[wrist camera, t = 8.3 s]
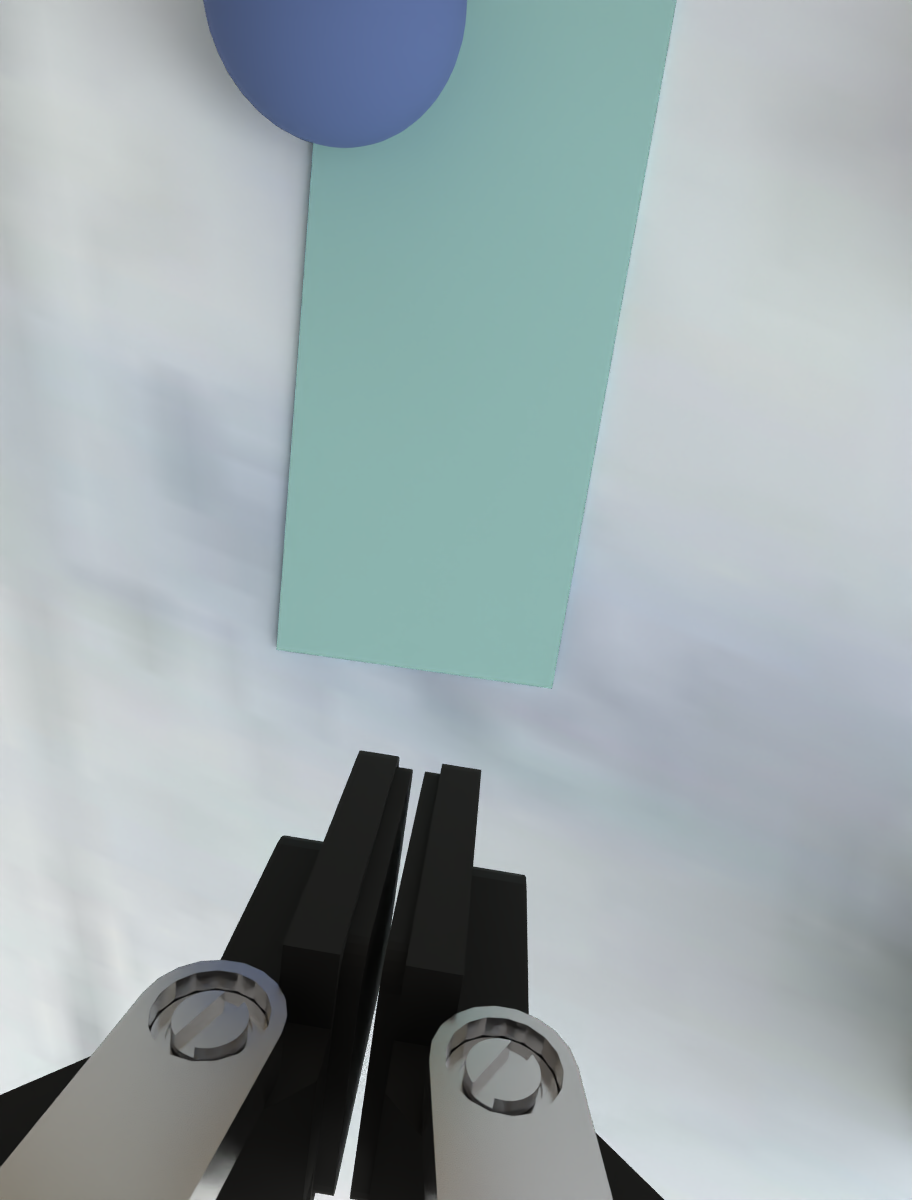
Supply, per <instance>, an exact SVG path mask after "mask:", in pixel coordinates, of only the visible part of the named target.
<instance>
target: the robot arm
mask: <svg viewBox="0 0 912 1200" xmlns="http://www.w3.org/2000/svg"><path fill="white" fill-rule="evenodd" d="M412 773H413V770H412V769H406V768H400V767H399V757H398V756H392V755H385V754H379V753H373V752H367V751H359V753H358V756H357V758H356V761H355V763H354V766H353V768H352V771H351V773H350V776H349V779H348V781H347V784H346V786H345V789H344V791H343V794H342V796H341V799H340V801H339V804H338V806H337V809H336V811H335V814H334V817H333V819H332V822H331V824H330V827H329V829H328V832H327V834H326V837H325V839H324V842H321V841H315V840H309V839H303V838H297V837H291V836H285V835H284V836H282V837H281V838H280V840H279V841H278V843H277V845H276V847H275V849H274V851H273V853H272V855H271V857H270V859H269V861H268V863H267V865H266V868H265V870H264V872H263V874H262V876H261V878H260V880H259V882H258V884H257V886H256V888H255V890H254V892H253V894H252V896H251V898H250V900H249V902H248V904H247V907H246V909H245V911H244V913H243V915H242V917H241V919H240V921H239V923H238V925H237V927H236V929H235V931H234V933H233V935H232V937H231V939H230V941H229V943H228V945H227V948H226V950H225V952H224V954H223V956H222V958H221V960H214V961H200V962H196V963H193V964H189V965H185V966H182V967H178V968H176V969H175V970H173V971H171V972H169V973H167V974H165V975H163V976H161V977H160V978H158V979H157V980H156V981H155V982H154V983H153V984H152V985H150V986H149V987H148V988H147V989H146V990H145V991H144V992H143V993H142V994H141V995H140V997H139V998H138V999H137V1000H136V1002H135V1003H134V1004H133V1005H132V1006H131V1008H130V1009H129V1010H128V1011H127V1013H126V1014H125V1015H124V1016H123V1017H122V1019H121V1020H120V1021H119V1022H118V1024H117V1025H116V1026H115V1027H114V1028H113V1030H112V1031H111V1032H110V1033H109V1035H108V1036H107V1037H106V1038H105V1040H104V1041H103V1042H102V1043H101V1044H100V1046H99V1047H98V1048H97V1049H96V1051H95V1052H94V1053H93V1054H92V1055H91V1056H90V1057H88V1058H85V1059H83V1060H81V1061H78V1062H76V1063H74V1064H71V1065H69V1066H67V1067H64V1068H62V1069H60V1070H57V1071H55V1072H53V1073H50V1074H48V1075H46V1076H43V1077H41V1078H39V1079H37V1080H34V1081H32V1082H30V1083H27V1084H25V1085H23V1086H20V1087H18V1088H16V1089H13V1090H11V1091H9V1092H6V1093H4V1094H2V1095H0V1200H314V1196H315V1193H320V1194H326V1195H332V1196H334V1193H335V1189H336V1185H337V1181H338V1176H339V1171H340V1167H341V1162H342V1158H343V1153H344V1148H345V1144H346V1139H347V1135H348V1130H349V1125H350V1121H351V1116H352V1111H353V1107H354V1102H355V1098H356V1093H357V1088H358V1084H359V1079H360V1075H361V1070H362V1065H363V1061H364V1056H365V1051H366V1047H367V1042H368V1038H369V1033H370V1028H371V1024H372V1019H373V1015H374V1010H375V1005H376V1001H377V996H378V1002H377V1009H376V1016H375V1023H374V1030H373V1038H372V1045H371V1052H370V1059H369V1066H368V1073H367V1080H366V1087H365V1094H364V1101H363V1108H362V1115H361V1122H360V1129H359V1137H358V1144H357V1151H356V1158H355V1165H354V1172H353V1179H352V1186H351V1193H350V1199H355V1200H664V1199H663V1198H662V1197H661V1196H660V1195H659V1194H658V1193H657V1192H656V1191H655V1190H654V1189H653V1188H652V1187H651V1186H650V1185H649V1184H648V1183H647V1182H646V1181H645V1180H644V1179H643V1178H641V1177H640V1176H639V1175H638V1174H637V1173H636V1172H635V1171H634V1170H633V1169H632V1168H631V1167H630V1166H629V1165H628V1164H627V1163H626V1162H625V1161H624V1160H623V1159H622V1158H621V1157H620V1156H619V1155H618V1154H617V1153H616V1152H615V1151H614V1150H613V1149H612V1148H611V1147H610V1146H609V1145H608V1144H607V1143H606V1142H605V1141H604V1140H603V1139H601V1138H600V1137H599V1136H598V1135H597V1134H596V1133H595V1129H594V1125H593V1122H592V1118H591V1114H590V1110H589V1106H588V1102H587V1099H586V1095H585V1091H584V1087H583V1083H582V1079H581V1076H580V1072H579V1068H578V1065H577V1063H576V1061H575V1058H574V1056H573V1054H572V1052H571V1049H570V1048H569V1046H568V1045H567V1044H566V1043H565V1042H564V1041H563V1039H562V1038H561V1037H560V1036H559V1035H558V1033H557V1032H556V1031H555V1030H553V1029H552V1028H550V1027H549V1026H548V1025H546V1024H545V1023H543V1022H542V1021H541V1020H539V1019H538V1018H536V1017H533V1016H531V1015H529V1008H528V949H527V891H526V877H525V875H521V874H515V873H509V872H503V871H496V870H490V869H484V868H478V867H473V860H474V848H475V837H476V825H477V813H478V802H479V790H480V779H481V770H478V769H472V768H466V767H459V766H453V765H447V764H442V768H441V773H440V774H437V773H431V772H425V774H424V779H423V783H422V788H421V792H420V797H419V801H418V806H417V811H416V815H415V820H414V824H413V829H412V833H411V838H410V843H409V847H408V852H407V856H406V861H405V865H404V870H403V874H402V879H401V884H400V888H399V893H398V897H397V902H396V906H395V911H394V915H393V908H394V901H395V894H396V887H397V880H398V873H399V866H400V859H401V852H402V845H403V838H404V831H405V824H406V817H407V810H408V803H409V795H410V788H411V781H412ZM392 915H393V920H392ZM391 922H392V925H391ZM379 987H380V988H379ZM378 991H379V995H378Z"/></svg>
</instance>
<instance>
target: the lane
mask: <svg viewBox="0 0 912 1200" xmlns="http://www.w3.org/2000/svg"><path fill="white" fill-rule="evenodd" d="M675 6H676V0H467V12H466V24H465V30H464V36H463V41H462V45H461V48H460V51H459V54H458V58H457V61H456V64H455V67H454V69H453V71H452V73H451V75H450V77H449V80H448V82H447V83H446V85H445V87H444V89H443V90H442V92H441V93H440V95H439V96H438V98H437V99H436V101H435V102H434V103H433V104H432V105H431V107H430V108H429V109H428V110H427V111H426V112H425V113H424V114H423V115H422V116H421V117H420V118H419V119H418V120H417V121H416V122H414V123H413V124H412V125H411V126H409V127H408V128H407V129H405V130H404V131H402V132H401V133H399V134H397V135H395V136H393V137H391V138H388V139H386V140H384V141H382V142H379V143H375V144H372V145H367V146H361V147H354V148H336V147H328V146H323V145H319V144H315V143H313V153H312V167H311V180H310V194H309V208H308V222H307V236H306V249H305V263H304V277H303V291H302V305H301V318H300V332H299V346H298V360H297V374H296V387H295V401H294V415H293V429H292V442H291V456H290V470H289V484H288V498H287V511H286V525H285V539H284V553H283V567H282V580H281V594H280V608H279V622H278V635H277V649H276V650H282V651H289V652H296V653H303V654H310V655H317V656H324V657H331V658H338V659H345V660H353V661H360V662H367V663H374V664H381V665H388V666H395V667H402V668H409V669H416V670H423V671H430V672H437V673H445V674H452V675H459V676H466V677H473V678H480V679H487V680H494V681H501V682H508V683H515V684H522V685H529V686H537V687H544V688H551V689H552V686H553V680H554V675H555V669H556V664H557V658H558V653H559V647H560V642H561V636H562V630H563V625H564V619H565V614H566V608H567V603H568V597H569V592H570V586H571V581H572V575H573V570H574V564H575V559H576V553H577V548H578V542H579V537H580V531H581V525H582V520H583V514H584V509H585V503H586V498H587V492H588V487H589V481H590V476H591V470H592V465H593V459H594V454H595V448H596V443H597V437H598V431H599V426H600V420H601V415H602V409H603V404H604V398H605V393H606V387H607V382H608V376H609V371H610V365H611V360H612V354H613V349H614V343H615V337H616V332H617V326H618V321H619V315H620V310H621V304H622V299H623V293H624V288H625V282H626V277H627V271H628V266H629V260H630V255H631V249H632V243H633V238H634V232H635V227H636V221H637V216H638V210H639V205H640V199H641V194H642V188H643V183H644V177H645V172H646V166H647V161H648V155H649V149H650V144H651V138H652V133H653V127H654V122H655V116H656V111H657V105H658V100H659V94H660V89H661V83H662V78H663V72H664V67H665V61H666V55H667V50H668V44H669V39H670V33H671V28H672V22H673V17H674V11H675Z"/></svg>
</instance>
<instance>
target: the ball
mask: <svg viewBox="0 0 912 1200" xmlns="http://www.w3.org/2000/svg"><path fill="white" fill-rule="evenodd" d="M203 2H204V7H205V12H206V17H207V21H208V25H209V30H210V32H211V35H212V38H213V41H214V43H215V46H216V49H217V51H218V54H219V56H220V58H221V60H222V62H223V64H224V66H225V68H226V70H227V72H228V73H229V75H230V76H231V78H232V79H233V81H234V82H235V84H236V85H237V87H238V88H239V90H240V91H241V92H242V94H243V95H244V96H245V97H246V98H247V99H248V100H249V101H250V103H251V104H252V105H253V106H254V107H255V108H256V109H257V110H258V111H259V112H260V113H261V114H262V115H264V116H265V117H266V118H267V119H269V120H270V121H271V122H272V123H274V124H275V125H276V126H278V127H279V128H281V129H283V130H284V131H286V132H288V133H290V134H292V135H294V136H296V137H298V138H300V139H302V140H305V141H308V142H311V143H315V144H319V145H323V146H328V147H336V148H354V147H361V146H367V145H372V144H375V143H379V142H382V141H384V140H386V139H388V138H391V137H393V136H395V135H397V134H399V133H401V132H402V131H404V130H405V129H407V128H408V127H409V126H411V125H412V124H413V123H414V122H416V121H417V120H418V119H419V118H420V117H421V116H422V115H423V114H424V113H425V112H426V111H427V110H428V109H429V108H430V107H431V105H432V104H433V103H434V102H435V101H436V99H437V98H438V96H439V95H440V93H441V92H442V90H443V89H444V87H445V85H446V83H447V82H448V80H449V77H450V75H451V73H452V71H453V69H454V67H455V64H456V61H457V58H458V54H459V51H460V48H461V45H462V41H463V36H464V30H465V24H466V12H467V0H203Z"/></svg>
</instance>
